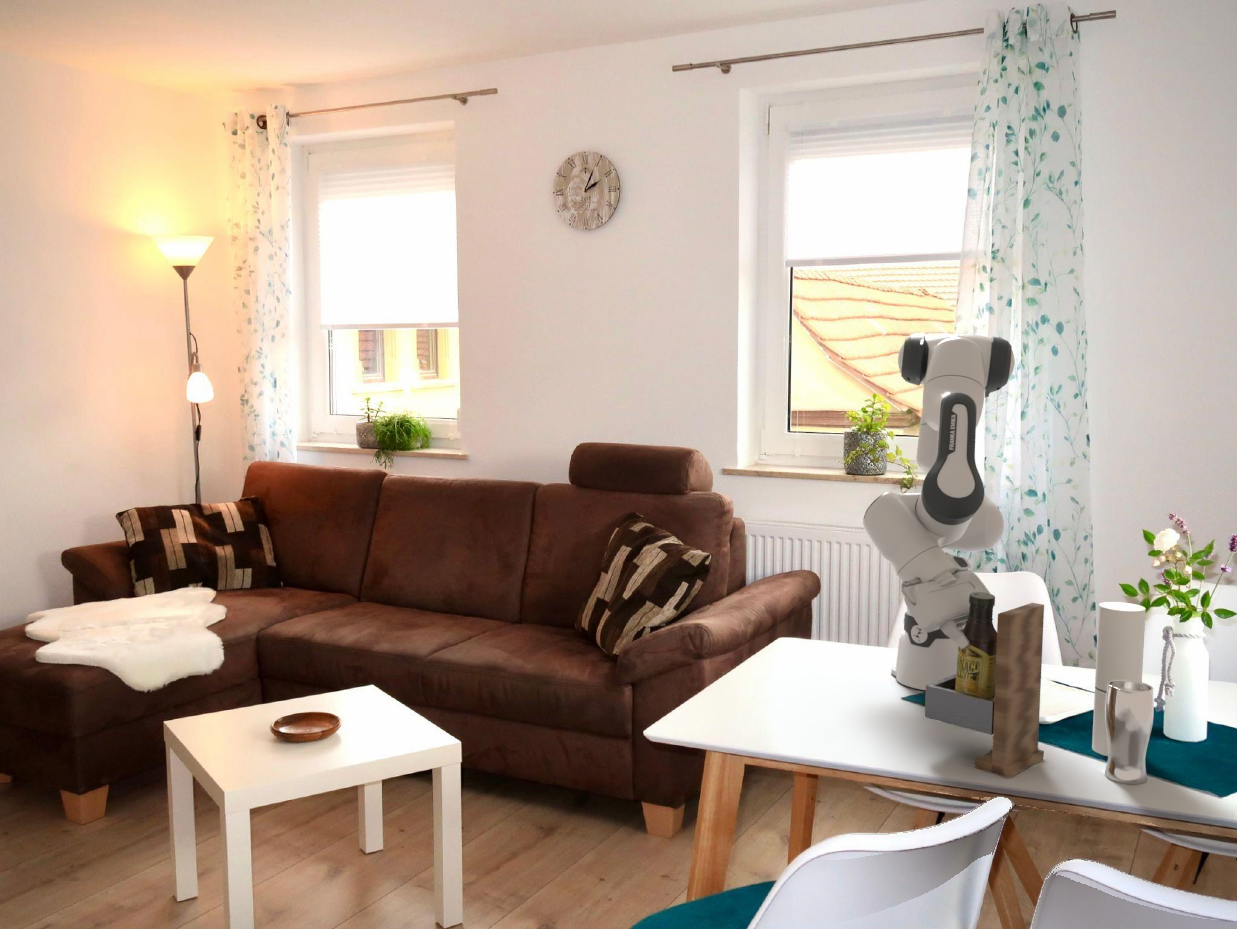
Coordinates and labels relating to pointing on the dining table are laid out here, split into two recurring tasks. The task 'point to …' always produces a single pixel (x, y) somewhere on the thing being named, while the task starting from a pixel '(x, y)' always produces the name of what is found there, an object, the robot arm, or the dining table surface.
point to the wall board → (1016, 692)
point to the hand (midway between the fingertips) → (980, 641)
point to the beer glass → (1128, 729)
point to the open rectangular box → (958, 706)
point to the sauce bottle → (978, 649)
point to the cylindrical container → (1116, 658)
